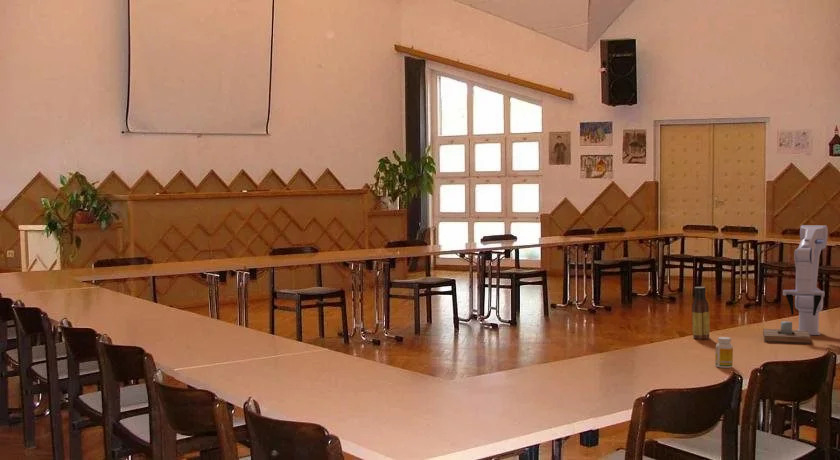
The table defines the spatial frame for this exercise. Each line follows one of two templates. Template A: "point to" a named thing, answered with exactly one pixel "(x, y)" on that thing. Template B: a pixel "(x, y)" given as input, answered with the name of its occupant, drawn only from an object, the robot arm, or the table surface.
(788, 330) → the slate pin
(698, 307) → the sauce bottle
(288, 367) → the table surface
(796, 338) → the walnut socket block
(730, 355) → the supplement bottle
